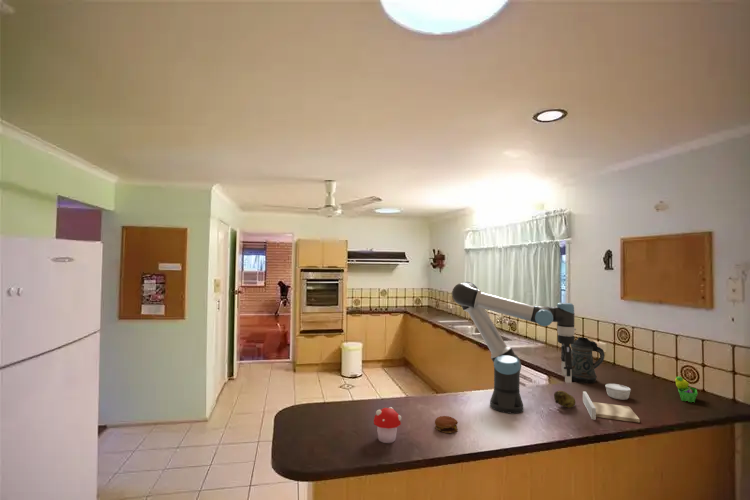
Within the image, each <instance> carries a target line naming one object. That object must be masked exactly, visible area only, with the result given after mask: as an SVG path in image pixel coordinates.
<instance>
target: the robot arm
mask: <svg viewBox="0 0 750 500" xmlns="http://www.w3.org/2000/svg"><path fill="white" fill-rule="evenodd" d="M451 296H452V299H453V301H454V303H456V304H457V305H459V306H461V309H462V310H463V311H464V312H467V313H468V315H469V316H470V319H471V320H472V321H473V323H474V325H475V327H476V328H477V331H478V332H479V333H480V335H481V337H482V339H483V341H484V343H485V345H486V346H487V348H488V349H489V351H490V353H491V355H490V359H491V360H492V363H493V368H494V369H493V391H492V394H491V397H490V400H489V401H490V402H489V406H490V408H491V409H493V410H494V411H497V412H500V413H506V414H520V413H522V412H523V411H524V403H523V402H524V401H523V399H522V396H521V393H520V389H521V387H520V386H521V385H520V384H521V383H520V379H521V378H520V375H521V370H522V362H521V360H520V357H519V356H518V355H517V354H516V353H515V352H514V350H513V349H512V347H511V346H508V345H507V344H506V343H505V341H504V340H503V336H501V334H500V332H499V330H498V329H497V327H496V326H495V324H494V322H493V320H492V319H491V317H490V315H489V313H488V312H487V311H491V312H494V313H499V314H503V315H506V316H509V317H513V318H517V319H519V320H520V319H521V320H525V321H528V322H531V323H535V324H537V325H539V326H541V327H548V326H549V325H551V324H552V323H557V324H556V327H557V328H556V329H557V330H556V332H557V343H559V344H561V346H560V348H561V351H560V352H561V354H560V355H561V356H560V359H561V376H564V383H565V384H572V382H573V381H572V360H571V350H572V348H571V344H574V343H575V338H576V337H575V331H576V330H577V329H576V328H575V305H574V304H573V303H570V302H558V303H556V304H557V305H556V306H543V305H531V304H527V303H524V302H520V301H515V300H512V299H509V298H508V299H507V298H505V297H501V296H498V295H493V294H489V293H487V292H486V293H485V292H482V291H481V290H480V289H479V288H478V287H477V286H476V284H474V283H472V282H469V281H462V282H460V283H458V284H456V285H455V286H454V287H453V288H452V291H451Z"/></svg>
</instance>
